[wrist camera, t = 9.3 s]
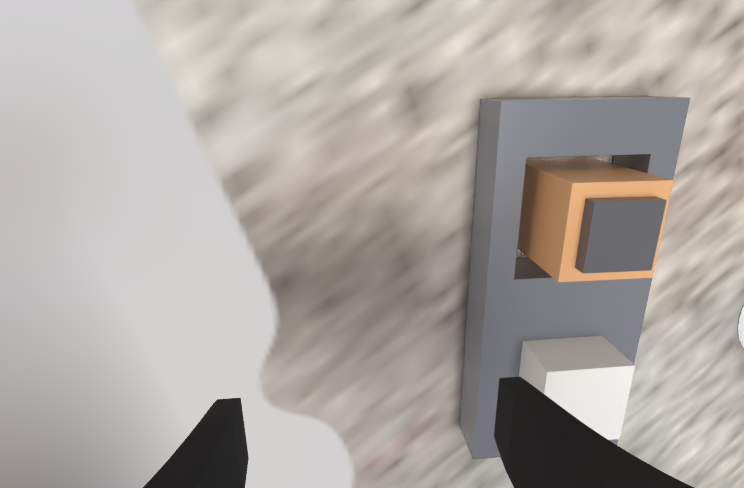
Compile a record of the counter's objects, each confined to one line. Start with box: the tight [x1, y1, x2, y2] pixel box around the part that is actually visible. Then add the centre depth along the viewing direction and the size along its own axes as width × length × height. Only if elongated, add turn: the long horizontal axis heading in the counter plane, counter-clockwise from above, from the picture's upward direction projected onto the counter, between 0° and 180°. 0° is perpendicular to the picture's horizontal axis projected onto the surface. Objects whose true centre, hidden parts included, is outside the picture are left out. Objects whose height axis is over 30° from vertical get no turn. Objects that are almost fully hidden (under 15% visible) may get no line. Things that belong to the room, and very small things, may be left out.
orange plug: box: [517, 160, 674, 282], centre depth 20 cm, size 4×4×6 cm
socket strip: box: [460, 96, 690, 459], centre depth 22 cm, size 20×8×5 cm, turn 1°
